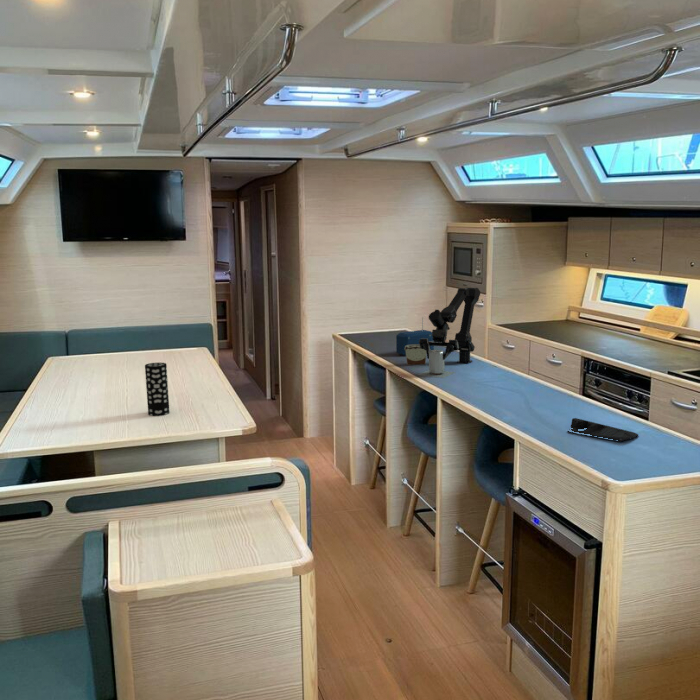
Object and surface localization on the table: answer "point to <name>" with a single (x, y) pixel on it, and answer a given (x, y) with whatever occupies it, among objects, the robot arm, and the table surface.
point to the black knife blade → (601, 430)
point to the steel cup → (436, 361)
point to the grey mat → (441, 375)
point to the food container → (415, 355)
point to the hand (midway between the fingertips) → (435, 358)
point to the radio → (412, 339)
